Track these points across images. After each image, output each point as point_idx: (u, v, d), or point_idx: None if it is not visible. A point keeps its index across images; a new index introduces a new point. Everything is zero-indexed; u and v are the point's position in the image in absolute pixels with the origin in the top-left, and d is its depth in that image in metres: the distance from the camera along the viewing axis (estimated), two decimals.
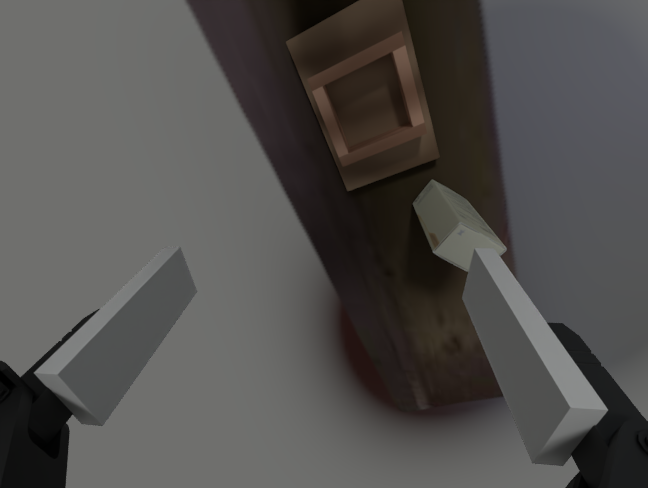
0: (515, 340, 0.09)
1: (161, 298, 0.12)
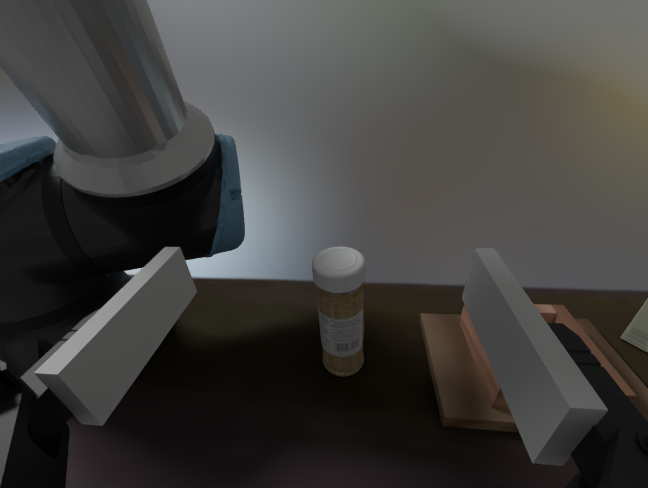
0: (515, 340, 0.09)
1: (161, 298, 0.12)
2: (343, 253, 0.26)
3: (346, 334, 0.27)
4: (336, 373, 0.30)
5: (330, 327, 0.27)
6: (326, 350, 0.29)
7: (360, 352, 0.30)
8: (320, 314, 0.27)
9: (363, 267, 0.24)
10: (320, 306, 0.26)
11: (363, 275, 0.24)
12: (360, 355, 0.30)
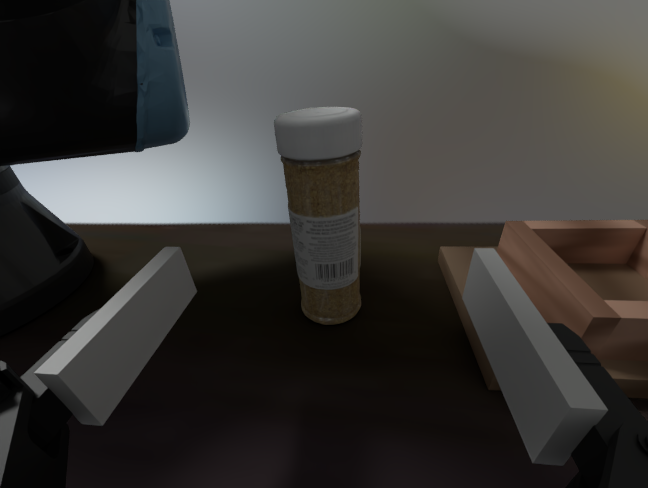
0: (515, 340, 0.09)
1: (161, 298, 0.12)
2: (326, 109, 0.16)
3: (333, 246, 0.17)
4: (320, 320, 0.20)
5: (307, 235, 0.17)
6: (303, 282, 0.19)
7: (355, 287, 0.20)
8: (291, 216, 0.17)
9: (358, 118, 0.14)
10: (290, 200, 0.16)
11: (358, 135, 0.15)
12: (355, 292, 0.20)
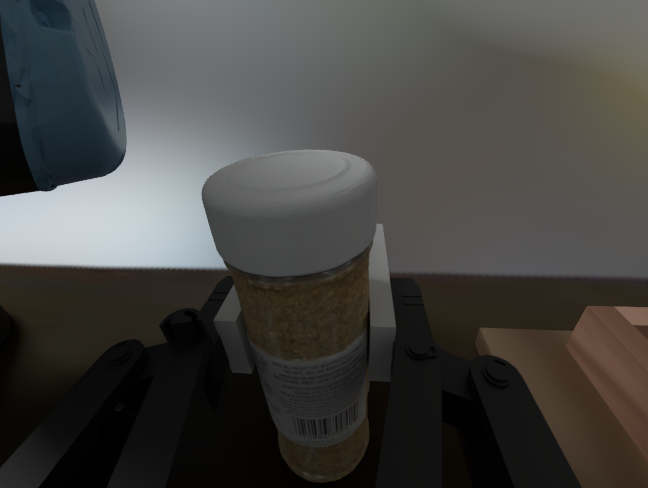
0: None
1: None
2: (308, 158, 0.08)
3: (323, 398, 0.09)
4: (305, 475, 0.13)
5: (275, 380, 0.09)
6: (276, 426, 0.12)
7: (361, 427, 0.12)
8: (249, 342, 0.10)
9: (371, 187, 0.07)
10: (245, 320, 0.09)
11: (371, 217, 0.07)
12: (361, 433, 0.13)
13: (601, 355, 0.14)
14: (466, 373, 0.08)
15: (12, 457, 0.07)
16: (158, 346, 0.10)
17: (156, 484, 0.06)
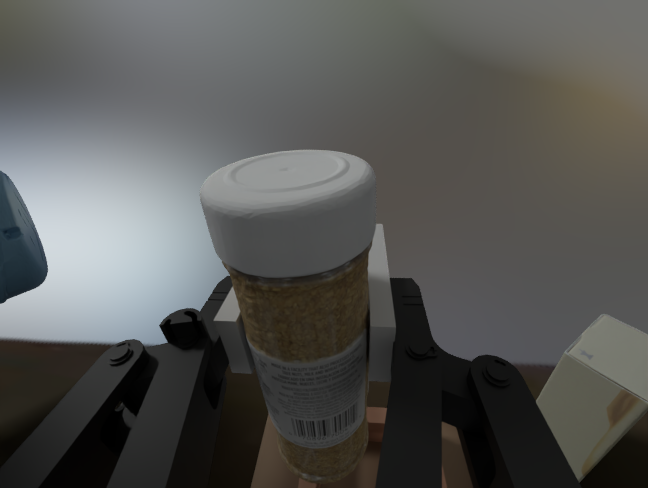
0: (368, 290, 0.11)
1: None
2: (307, 158, 0.08)
3: (321, 399, 0.09)
4: (304, 477, 0.13)
5: (274, 381, 0.09)
6: (275, 427, 0.12)
7: (361, 428, 0.12)
8: (248, 343, 0.10)
9: (370, 187, 0.07)
10: (244, 321, 0.09)
11: (370, 218, 0.07)
12: (361, 434, 0.13)
13: None
14: (466, 373, 0.08)
15: (12, 457, 0.07)
16: (158, 346, 0.10)
17: (156, 485, 0.06)
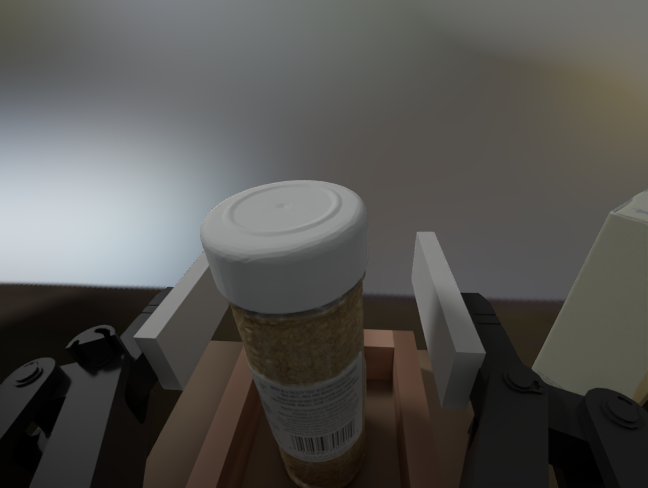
0: (434, 306, 0.10)
1: None
2: (302, 192, 0.09)
3: (319, 418, 0.10)
4: (304, 487, 0.13)
5: (273, 402, 0.10)
6: (276, 440, 0.12)
7: (359, 441, 0.13)
8: (248, 364, 0.10)
9: (361, 226, 0.07)
10: (244, 345, 0.09)
11: (362, 254, 0.08)
12: (359, 446, 0.13)
13: None
14: (576, 403, 0.07)
15: None
16: (76, 364, 0.09)
17: None
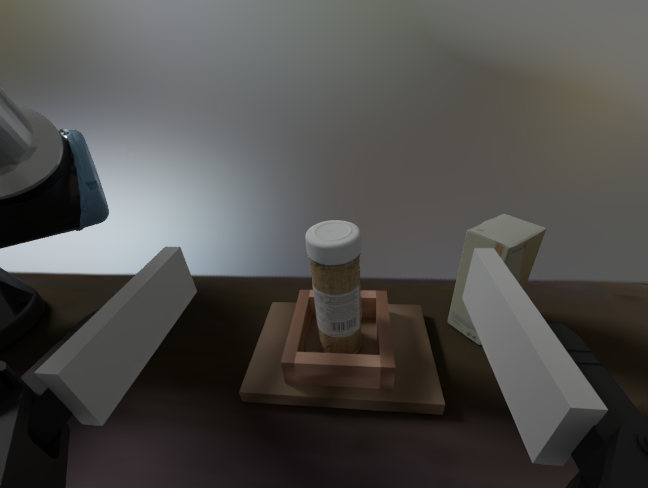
0: (515, 340, 0.09)
1: (161, 298, 0.12)
2: (338, 225, 0.24)
3: (342, 311, 0.25)
4: None
5: (325, 304, 0.25)
6: (321, 331, 0.28)
7: (358, 333, 0.28)
8: (315, 291, 0.26)
9: (358, 238, 0.23)
10: (314, 282, 0.25)
11: (358, 247, 0.23)
12: (358, 337, 0.29)
13: None
14: None
15: None
16: None
17: None
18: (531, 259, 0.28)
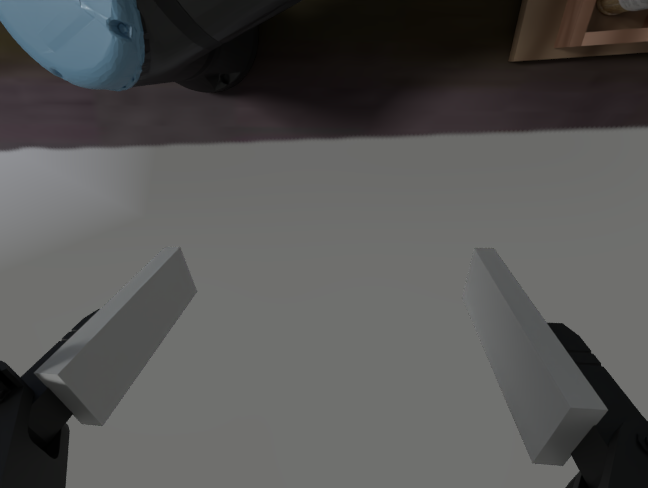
0: (515, 340, 0.09)
1: (161, 298, 0.12)
2: None
3: None
4: (608, 14, 0.32)
5: None
6: (620, 4, 0.29)
7: None
8: None
9: None
10: None
11: None
12: None
13: None
14: None
15: None
16: None
17: None
18: None
